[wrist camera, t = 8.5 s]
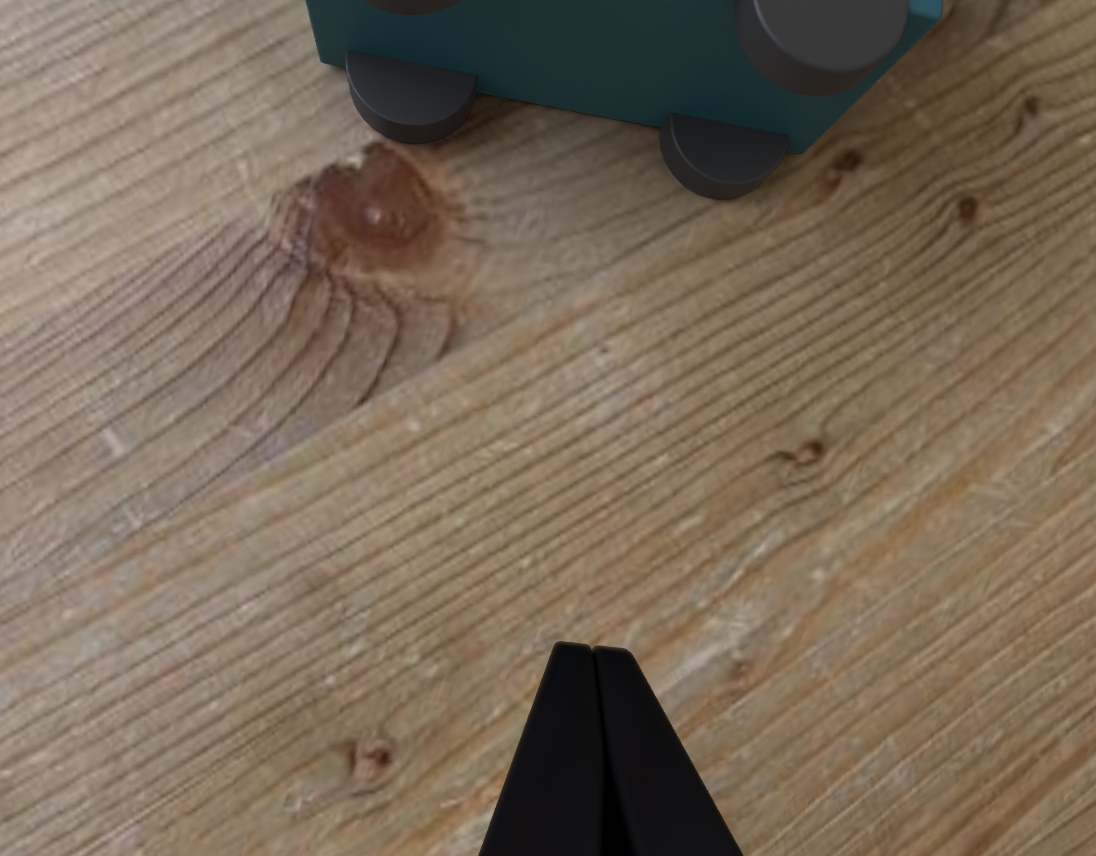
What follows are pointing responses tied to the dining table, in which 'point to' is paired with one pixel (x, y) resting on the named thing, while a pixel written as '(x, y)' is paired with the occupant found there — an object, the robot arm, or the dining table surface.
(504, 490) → the dining table surface
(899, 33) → the toy van
